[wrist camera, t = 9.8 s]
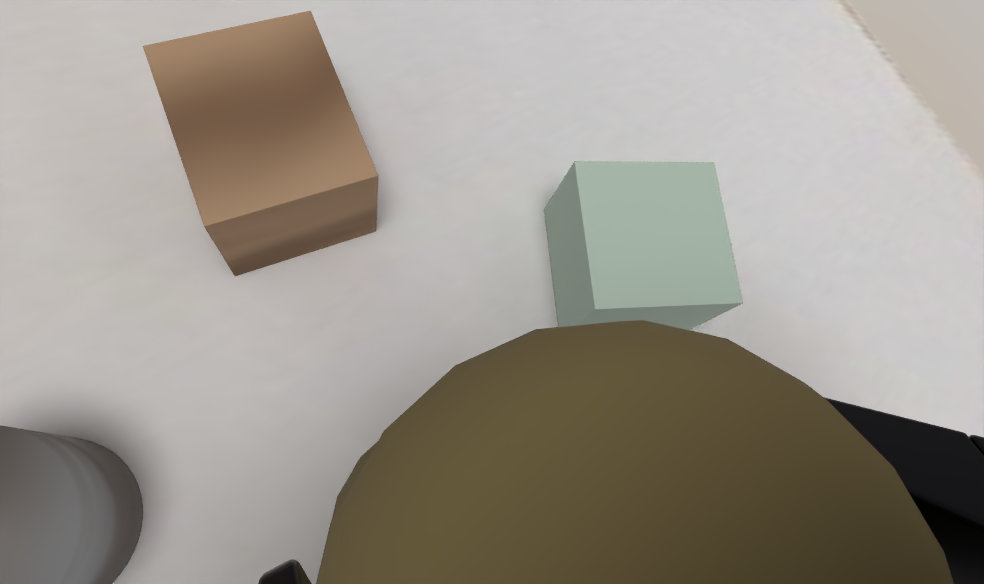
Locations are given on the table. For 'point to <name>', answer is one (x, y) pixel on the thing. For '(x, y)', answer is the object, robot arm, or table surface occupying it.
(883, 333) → the table surface
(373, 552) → the olive pawn
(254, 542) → the table surface
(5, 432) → the grey short cylinder
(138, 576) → the table surface
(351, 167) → the walnut block
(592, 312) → the sage block
